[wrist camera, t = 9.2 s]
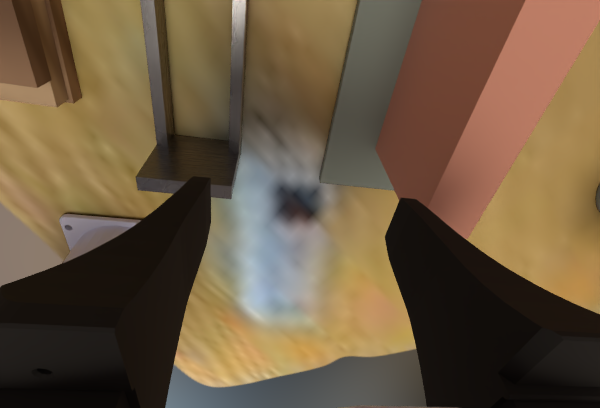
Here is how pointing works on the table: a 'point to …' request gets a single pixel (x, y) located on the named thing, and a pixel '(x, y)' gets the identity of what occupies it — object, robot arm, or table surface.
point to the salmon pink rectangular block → (475, 96)
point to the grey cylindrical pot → (598, 198)
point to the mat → (367, 92)
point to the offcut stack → (36, 54)
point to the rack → (172, 148)
